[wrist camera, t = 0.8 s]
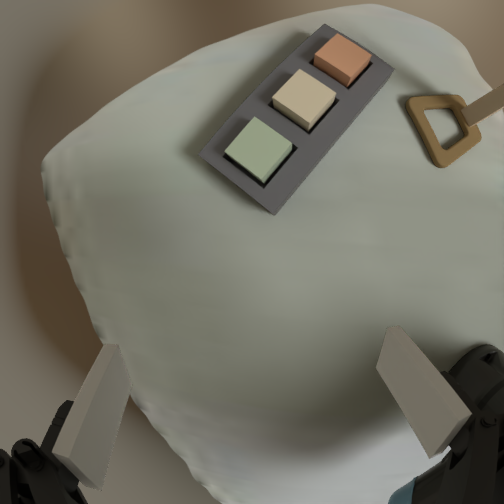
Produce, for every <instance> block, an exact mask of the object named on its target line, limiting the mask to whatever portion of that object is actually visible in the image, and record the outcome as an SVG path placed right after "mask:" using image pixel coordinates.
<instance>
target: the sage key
mask: <svg viewBox="0 0 504 504" xmlns="http://www.w3.org/2000/svg"><path fill="white" fill-rule="evenodd" d="M291 151H292V143H291V142H290V141H288V140H287V139H286V138H284V137H283V136H282V135H280V134H279V133H277V132H276V131H275V130H273V129H272V128H270V127H269V126H268V125H266V124H265V123H263V122H262V121H260V120H259V119H258V118H256V117H255V116H254V118H253V119H252V120H251V121H250V122H249V123H248V124H247V125H246V127H245V128H244V129H243V130H242V131H241V132H240V133H239V135H238V136H237V137H236V138H235V139H234V140H233V142H232V143H231V144H230V145H229V146H228V148H227V149H226V150H225V151H224V152H225V153H226V154H227V155H228V156H229V157H230V158H231V159H232V160H234V161H235V162H236V163H238V164H239V165H240V166H242V167H243V168H244V169H246V170H247V171H248V172H249V173H251V174H252V175H253V176H255V177H256V178H257V179H258V180H260V181H261V182H262V183H263V184H264V183H265V182H266V181H267V180H268V178H269V177H270V176H271V175H272V174H273V172H274V171H275V170H276V169H277V168H278V167H279V165H280V164H281V163H282V162H283V161H284V159H285V158H286V157H287V156H288V155H289V154H290V152H291Z"/></svg>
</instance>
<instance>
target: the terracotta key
mask: <svg viewBox="0 0 504 504" xmlns="http://www.w3.org/2000/svg"><path fill="white" fill-rule="evenodd" d="M371 56H372V55H371V54H370V53H368V52H367V51H365V50H364V49H362V48H361V47H359V46H358V45H356V44H354V43H353V42H351V41H350V40H348V39H346V38H345V37H343V36H341V35H340V34H338V33H337V34H336V35H335V36H334V37H333V38H332V39H330V40H329V41H328V42H327V43H326V44H325V45H324V46H323V47H322V48H321V49H320V50H319V51H317V52H316V53H315V56H314V65H313V66H314V67H316V68H317V69H319V70H320V71H322V72H323V73H325V74H327V75H328V76H330V77H331V78H333V79H334V80H335V81H337V82H338V83H340V84H341V85H343V86H344V87H345V88H347V87H348V86H349V85H350V84H351V83H352V82H353V81H354V80H355V79H356V78H357V77H358V75H359V74H360V73H361V72H362V71H363V70H364V69H365V68H366V67H367V65H368V62H369V60H370V58H371Z"/></svg>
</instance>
